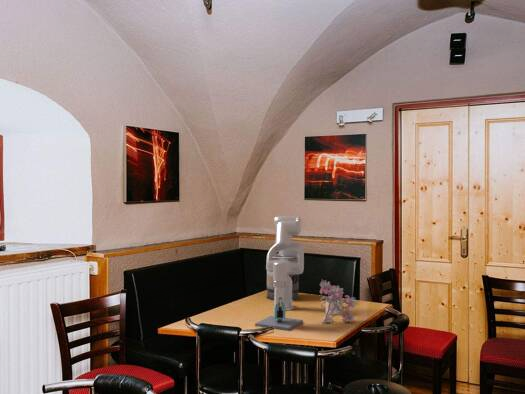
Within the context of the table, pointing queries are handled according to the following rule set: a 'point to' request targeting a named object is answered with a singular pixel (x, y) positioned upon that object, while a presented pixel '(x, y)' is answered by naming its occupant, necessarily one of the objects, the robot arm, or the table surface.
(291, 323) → the base plate
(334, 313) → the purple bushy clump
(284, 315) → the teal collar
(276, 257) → the barrel
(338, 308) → the flower
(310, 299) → the table surface
